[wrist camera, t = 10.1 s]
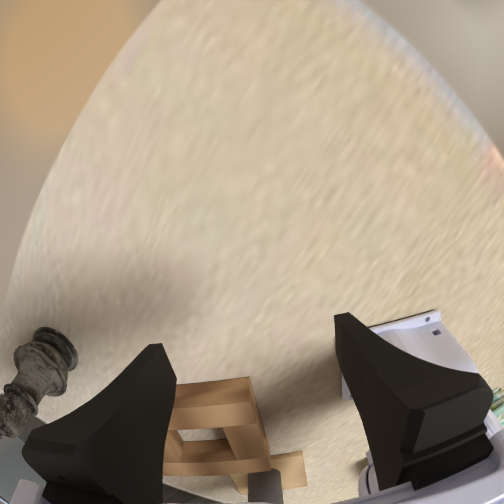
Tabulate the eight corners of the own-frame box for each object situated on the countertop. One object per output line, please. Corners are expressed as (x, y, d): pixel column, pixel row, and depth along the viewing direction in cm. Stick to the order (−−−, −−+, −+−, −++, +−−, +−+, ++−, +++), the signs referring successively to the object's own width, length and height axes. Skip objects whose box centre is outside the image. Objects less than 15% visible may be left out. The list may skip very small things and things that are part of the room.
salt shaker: (88, 349, 25) (32, 449, 14) (72, 382, 27) (26, 471, 16) (37, 312, 24) (-35, 398, 13) (26, 349, 26) (-31, 429, 14)
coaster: (302, 451, 31) (302, 454, 30) (306, 482, 34) (307, 485, 34) (224, 460, 31) (224, 464, 31) (240, 490, 35) (240, 494, 34)
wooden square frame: (249, 376, 26) (249, 401, 24) (269, 449, 31) (271, 470, 28) (125, 387, 27) (116, 409, 24) (168, 455, 31) (164, 475, 28)
